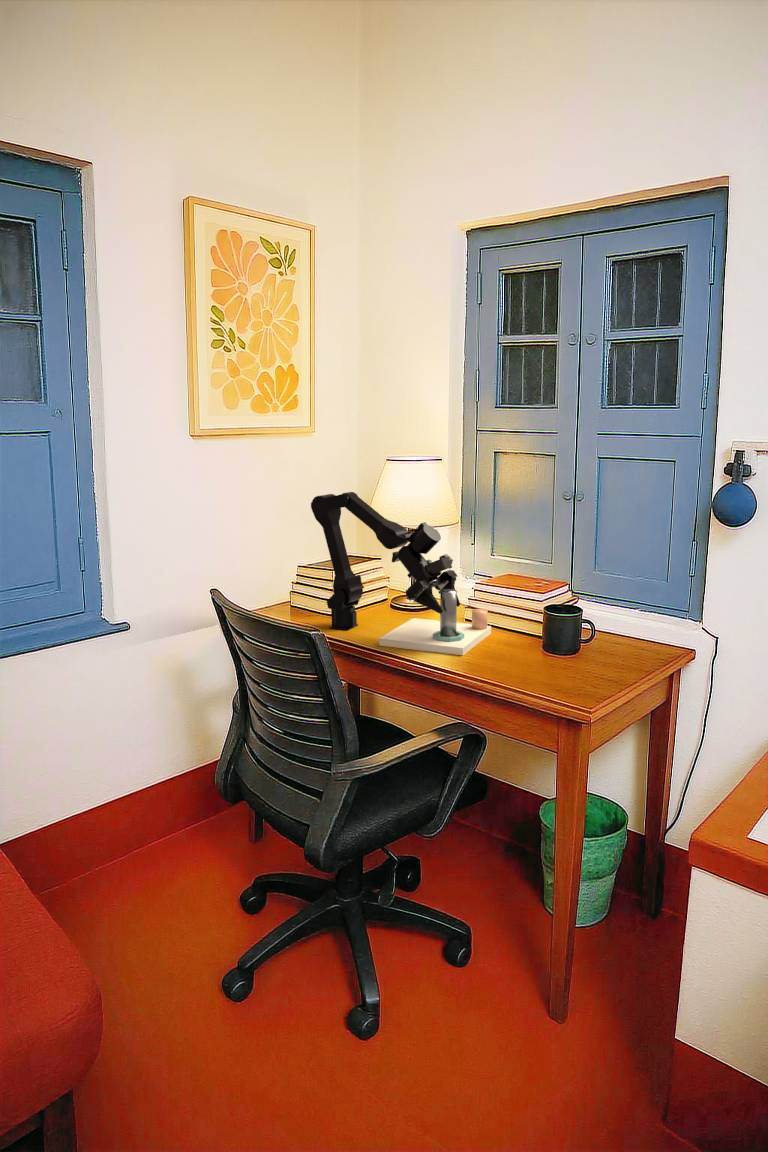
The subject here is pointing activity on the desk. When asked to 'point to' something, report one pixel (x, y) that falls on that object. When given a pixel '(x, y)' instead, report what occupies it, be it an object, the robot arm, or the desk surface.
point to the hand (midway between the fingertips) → (450, 609)
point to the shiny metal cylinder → (448, 612)
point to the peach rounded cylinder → (479, 619)
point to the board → (433, 637)
